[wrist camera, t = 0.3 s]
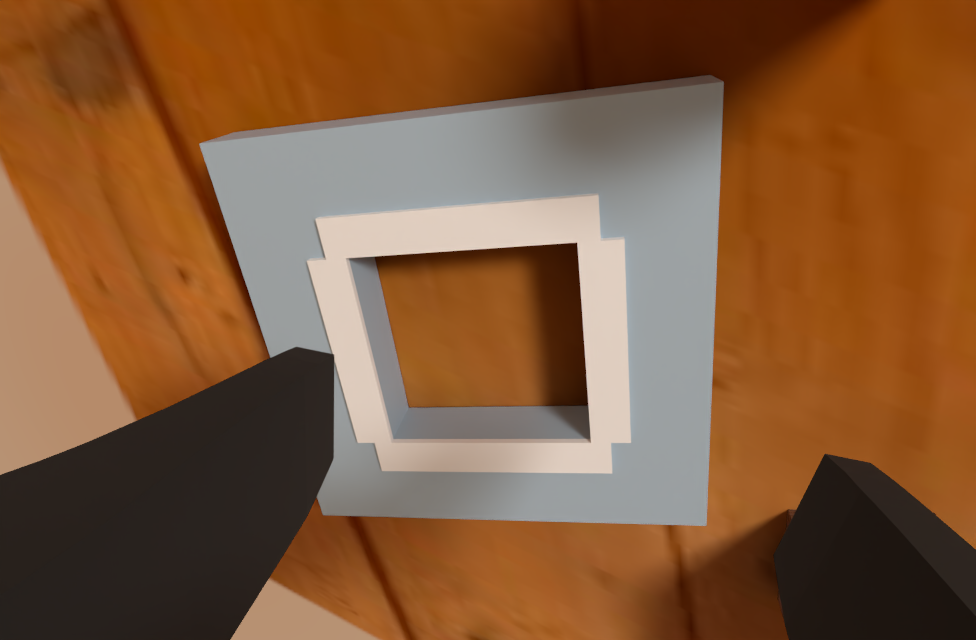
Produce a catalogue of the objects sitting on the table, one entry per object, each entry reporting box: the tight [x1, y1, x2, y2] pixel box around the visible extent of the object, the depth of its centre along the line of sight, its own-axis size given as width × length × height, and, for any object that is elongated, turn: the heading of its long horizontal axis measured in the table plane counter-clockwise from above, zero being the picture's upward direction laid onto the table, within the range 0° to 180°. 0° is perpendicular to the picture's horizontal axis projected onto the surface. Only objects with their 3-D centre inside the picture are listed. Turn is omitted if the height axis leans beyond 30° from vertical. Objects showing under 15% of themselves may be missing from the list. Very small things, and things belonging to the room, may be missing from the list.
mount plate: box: [200, 75, 724, 526], centre depth 18 cm, size 14×14×2 cm
